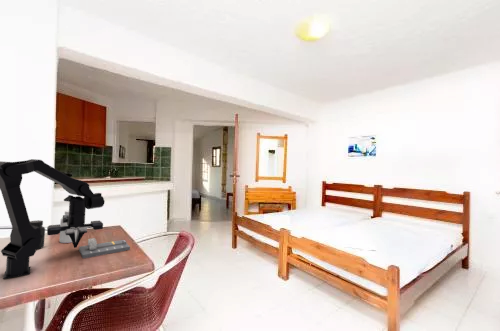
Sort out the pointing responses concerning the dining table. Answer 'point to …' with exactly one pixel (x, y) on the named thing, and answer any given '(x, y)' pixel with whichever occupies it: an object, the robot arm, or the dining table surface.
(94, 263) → the dining table surface
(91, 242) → the fader
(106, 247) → the console
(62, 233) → the pill bottle
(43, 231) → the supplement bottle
